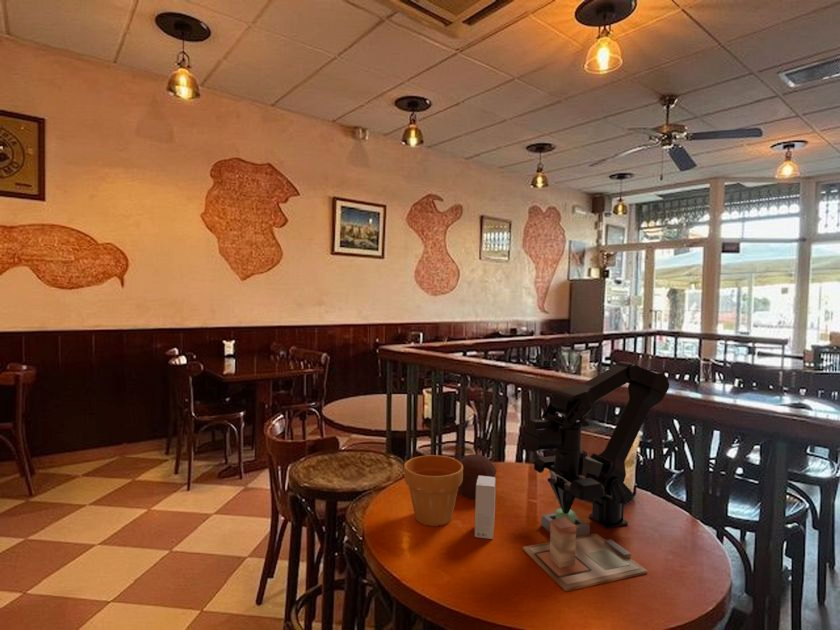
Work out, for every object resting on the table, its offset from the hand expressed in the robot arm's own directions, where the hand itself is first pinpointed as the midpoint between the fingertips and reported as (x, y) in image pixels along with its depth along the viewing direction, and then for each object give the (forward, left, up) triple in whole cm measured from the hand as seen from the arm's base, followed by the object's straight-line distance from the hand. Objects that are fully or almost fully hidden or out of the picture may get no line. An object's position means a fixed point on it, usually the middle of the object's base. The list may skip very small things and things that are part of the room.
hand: (565, 512), depth 110 cm
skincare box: (+18, -5, -4) cm, 19 cm away
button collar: (0, 0, -4) cm, 4 cm away
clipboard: (+4, +12, -4) cm, 13 cm away
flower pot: (+27, -15, -4) cm, 31 cm away
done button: (0, 0, -3) cm, 3 cm away
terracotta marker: (+9, +12, -4) cm, 15 cm away
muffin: (+11, -25, -4) cm, 28 cm away
